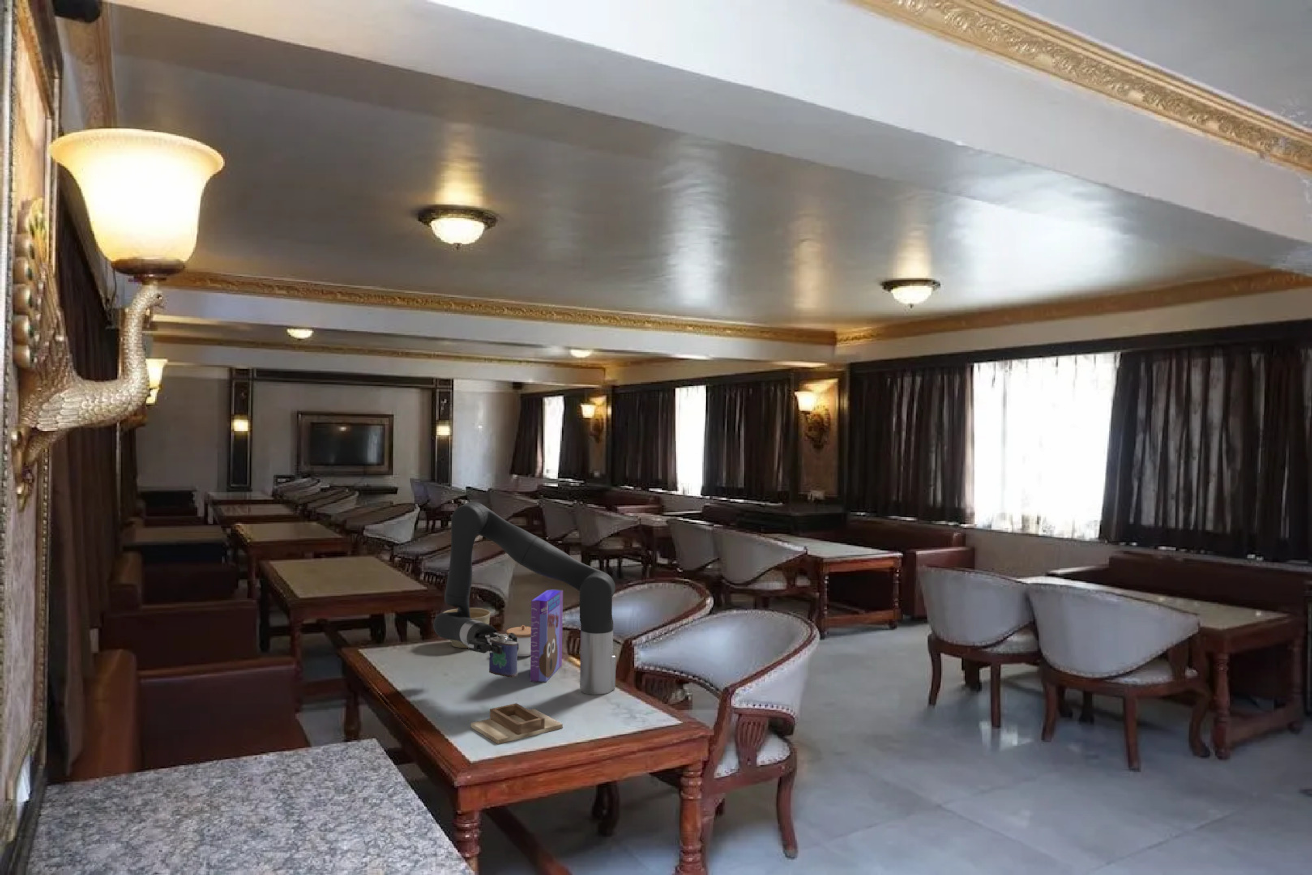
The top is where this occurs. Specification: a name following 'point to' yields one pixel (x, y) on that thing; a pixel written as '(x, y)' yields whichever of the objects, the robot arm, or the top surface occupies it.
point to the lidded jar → (522, 639)
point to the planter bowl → (476, 615)
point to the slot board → (514, 723)
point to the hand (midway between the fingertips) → (508, 648)
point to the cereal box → (546, 635)
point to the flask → (504, 658)
